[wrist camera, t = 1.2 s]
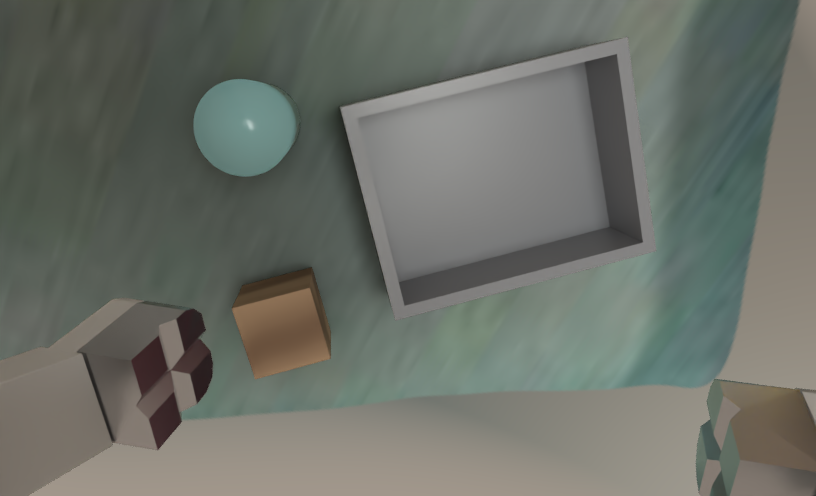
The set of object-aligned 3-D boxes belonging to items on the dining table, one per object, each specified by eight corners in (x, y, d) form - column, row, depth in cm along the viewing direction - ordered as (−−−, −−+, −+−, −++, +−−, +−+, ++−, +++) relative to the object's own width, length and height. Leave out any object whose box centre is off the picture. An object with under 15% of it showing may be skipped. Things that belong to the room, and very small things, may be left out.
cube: (242, 284, 44) (231, 308, 39) (312, 266, 44) (309, 287, 39) (263, 348, 45) (255, 379, 40) (330, 330, 45) (330, 358, 40)
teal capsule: (213, 92, 40) (180, 91, 31) (288, 74, 40) (276, 68, 32) (236, 167, 41) (210, 186, 33) (309, 149, 42) (302, 163, 33)
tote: (339, 105, 41) (340, 107, 36) (589, 44, 42) (627, 37, 37) (387, 293, 45) (395, 320, 39) (617, 232, 46) (656, 251, 40)
